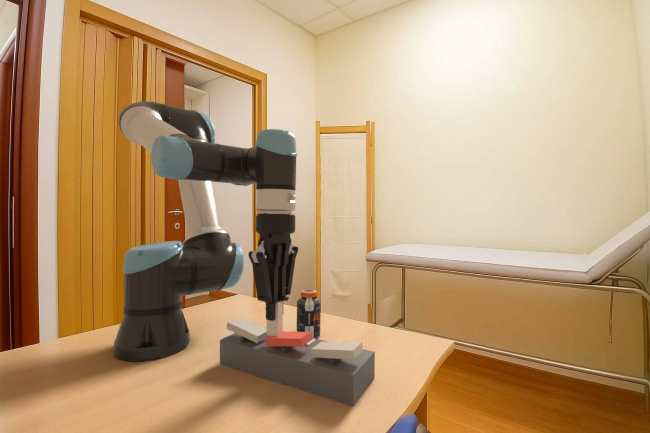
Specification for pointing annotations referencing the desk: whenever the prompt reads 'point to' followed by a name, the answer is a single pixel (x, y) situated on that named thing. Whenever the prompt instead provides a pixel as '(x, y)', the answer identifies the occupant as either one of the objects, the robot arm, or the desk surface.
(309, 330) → the pill bottle
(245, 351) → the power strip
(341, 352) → the block
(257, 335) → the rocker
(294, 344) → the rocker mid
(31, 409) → the desk surface
